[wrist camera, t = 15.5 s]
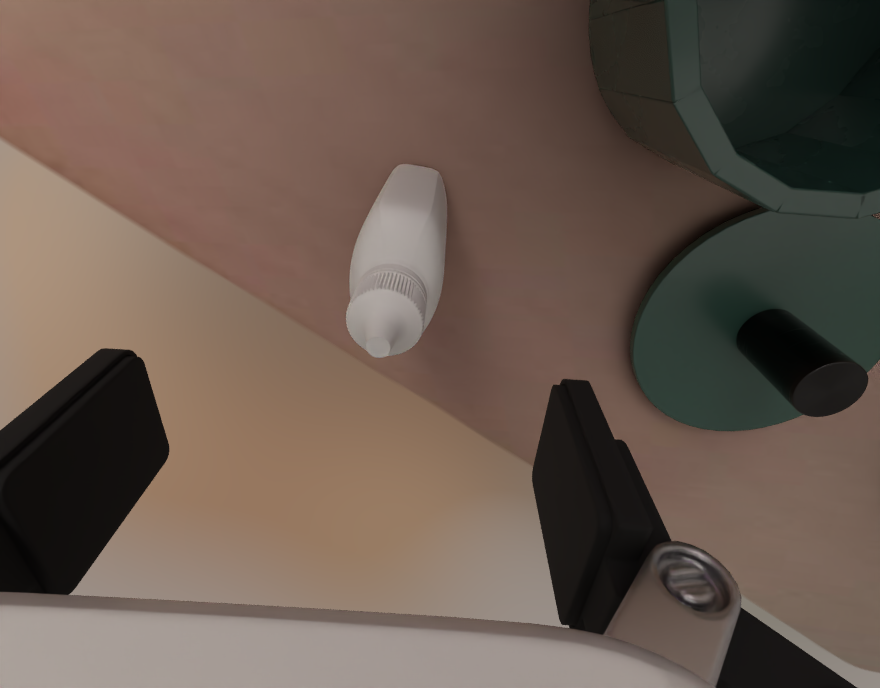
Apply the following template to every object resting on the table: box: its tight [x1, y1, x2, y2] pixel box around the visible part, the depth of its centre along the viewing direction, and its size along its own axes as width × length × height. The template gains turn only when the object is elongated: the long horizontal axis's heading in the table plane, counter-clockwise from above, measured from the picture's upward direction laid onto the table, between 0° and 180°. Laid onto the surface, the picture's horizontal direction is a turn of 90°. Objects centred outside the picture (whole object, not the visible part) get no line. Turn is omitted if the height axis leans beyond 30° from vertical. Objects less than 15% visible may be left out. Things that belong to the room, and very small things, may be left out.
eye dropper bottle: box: [346, 164, 447, 358], centre depth 18 cm, size 4×6×12 cm
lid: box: [630, 207, 880, 431], centre depth 23 cm, size 14×14×6 cm
